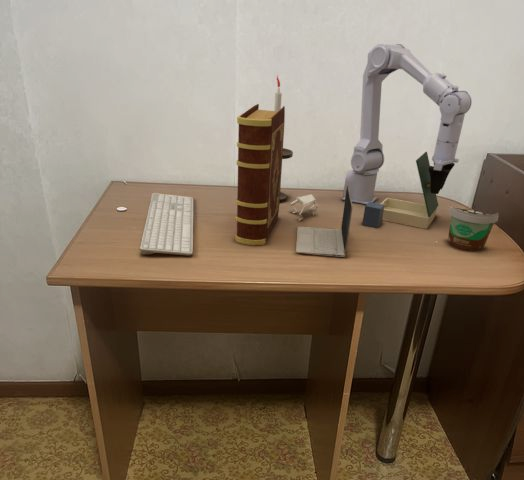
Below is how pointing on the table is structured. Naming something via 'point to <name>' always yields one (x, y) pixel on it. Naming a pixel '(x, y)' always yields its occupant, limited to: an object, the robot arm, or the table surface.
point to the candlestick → (286, 152)
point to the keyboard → (169, 225)
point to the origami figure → (305, 203)
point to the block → (373, 214)
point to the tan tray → (407, 213)
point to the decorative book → (259, 173)
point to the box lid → (426, 183)
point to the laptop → (326, 236)
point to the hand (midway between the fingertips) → (436, 191)
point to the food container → (470, 228)
